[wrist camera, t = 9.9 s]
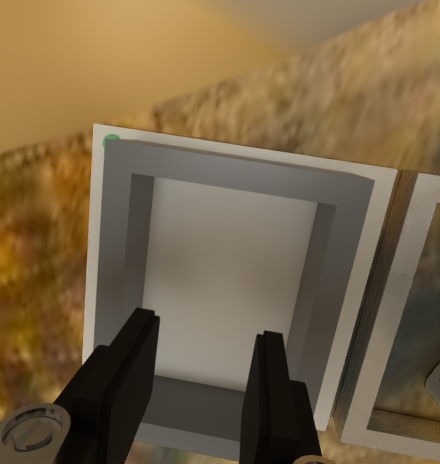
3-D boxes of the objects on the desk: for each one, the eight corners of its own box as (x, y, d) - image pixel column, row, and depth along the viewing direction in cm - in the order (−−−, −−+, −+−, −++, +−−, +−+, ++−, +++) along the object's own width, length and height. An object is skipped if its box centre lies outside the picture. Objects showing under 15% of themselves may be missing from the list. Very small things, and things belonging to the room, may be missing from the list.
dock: (388, 167, 15) (436, 176, 11) (321, 416, 18) (339, 489, 14) (103, 124, 15) (53, 118, 12) (89, 371, 19) (47, 430, 15)
